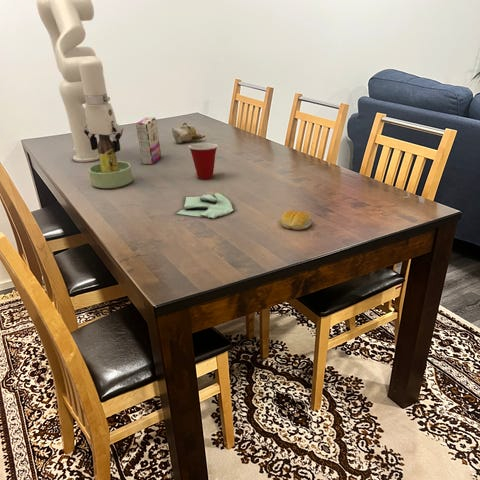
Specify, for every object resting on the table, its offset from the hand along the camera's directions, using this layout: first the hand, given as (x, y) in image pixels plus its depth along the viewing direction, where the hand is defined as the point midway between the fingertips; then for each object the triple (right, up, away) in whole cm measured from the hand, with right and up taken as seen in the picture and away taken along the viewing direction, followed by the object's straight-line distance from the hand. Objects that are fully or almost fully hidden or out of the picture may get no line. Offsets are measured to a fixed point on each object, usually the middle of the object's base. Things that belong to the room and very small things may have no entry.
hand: (106, 150), depth 175 cm
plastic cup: (+36, -7, +8) cm, 38 cm away
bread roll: (+66, -34, -32) cm, 81 cm away
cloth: (+38, -25, -17) cm, 48 cm away
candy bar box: (+11, +6, +30) cm, 32 cm away
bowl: (+1, -10, +7) cm, 12 cm away
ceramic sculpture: (+24, +23, +54) cm, 64 cm away
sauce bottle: (+1, -10, +6) cm, 12 cm away
